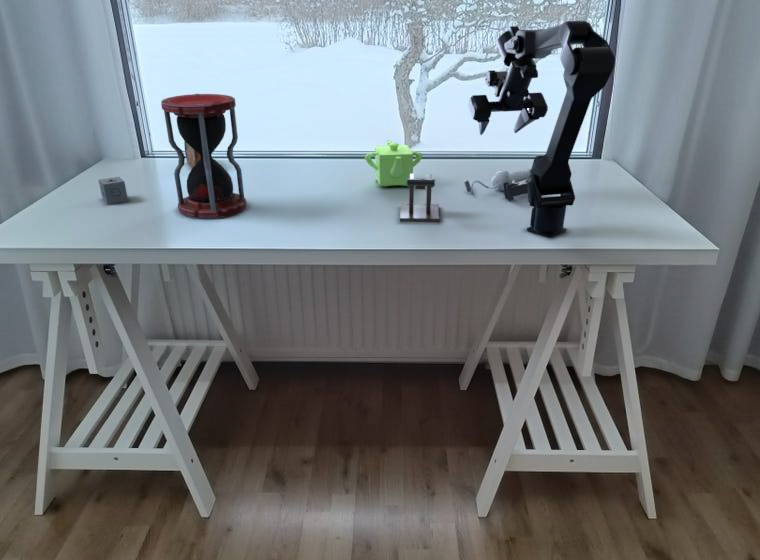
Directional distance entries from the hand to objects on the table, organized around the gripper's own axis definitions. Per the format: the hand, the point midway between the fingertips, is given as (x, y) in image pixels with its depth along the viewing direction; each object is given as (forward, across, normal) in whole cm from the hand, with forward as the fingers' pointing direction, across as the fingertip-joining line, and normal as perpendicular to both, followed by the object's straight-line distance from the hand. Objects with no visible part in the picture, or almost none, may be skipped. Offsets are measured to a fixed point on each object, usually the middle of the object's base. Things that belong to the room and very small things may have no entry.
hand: (497, 132), depth 164 cm
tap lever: (-4, +26, +19) cm, 32 cm away
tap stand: (+5, +24, +20) cm, 32 cm away
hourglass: (+14, +72, +5) cm, 73 cm away
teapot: (+20, +23, -3) cm, 31 cm away
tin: (+37, +75, -29) cm, 89 cm away
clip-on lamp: (+11, -1, +10) cm, 15 cm away
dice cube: (+21, +95, -5) cm, 98 cm away
